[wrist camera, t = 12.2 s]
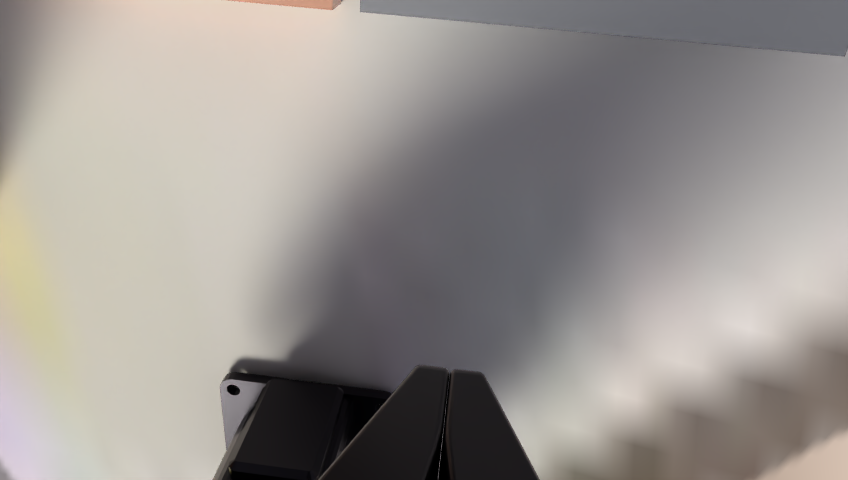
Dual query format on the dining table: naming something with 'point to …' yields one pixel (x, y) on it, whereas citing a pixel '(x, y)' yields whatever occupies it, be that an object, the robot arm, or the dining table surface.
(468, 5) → the walled tunnel
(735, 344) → the dining table surface
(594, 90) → the dining table surface
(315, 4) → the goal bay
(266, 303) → the dining table surface
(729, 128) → the dining table surface
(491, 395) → the robot arm
